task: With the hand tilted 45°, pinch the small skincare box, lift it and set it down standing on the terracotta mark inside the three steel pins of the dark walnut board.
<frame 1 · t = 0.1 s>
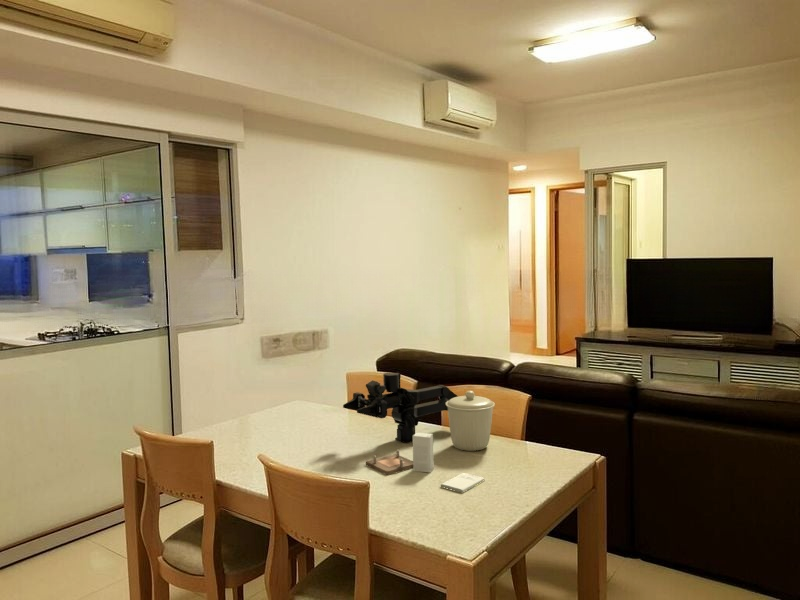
hand: (350, 408, 219), 17 cm above the table, tool horizontal, fingers open, 9 cm apart
skincare box: (423, 470, 203), on the table
pin nest board: (391, 465, 208), on the table
canister: (470, 447, 226), on the table
external hard drive: (462, 486, 190), on the table
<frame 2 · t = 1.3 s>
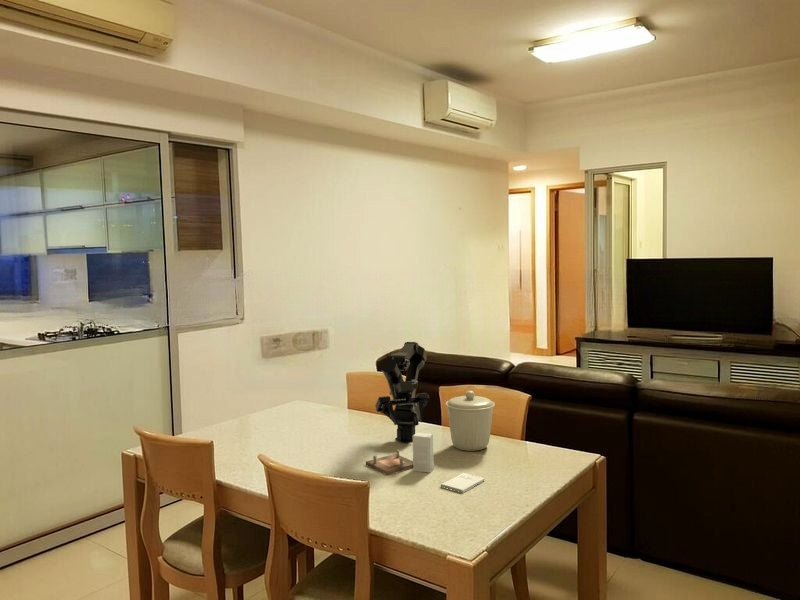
hand: (409, 422, 209), 14 cm above the table, tool tilted 45°, fingers open, 9 cm apart
nothing on the table moved.
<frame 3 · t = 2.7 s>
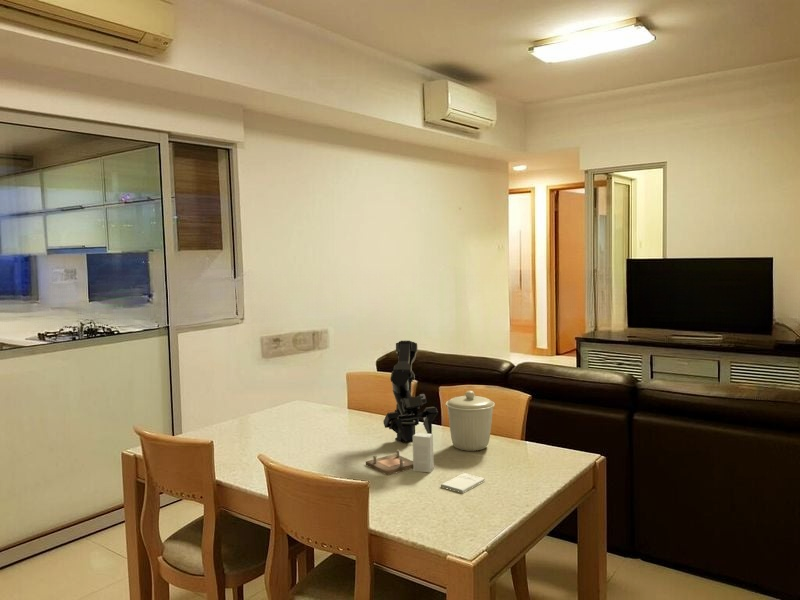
hand: (418, 438, 205), 10 cm above the table, tool tilted 45°, fingers open, 9 cm apart
nothing on the table moved.
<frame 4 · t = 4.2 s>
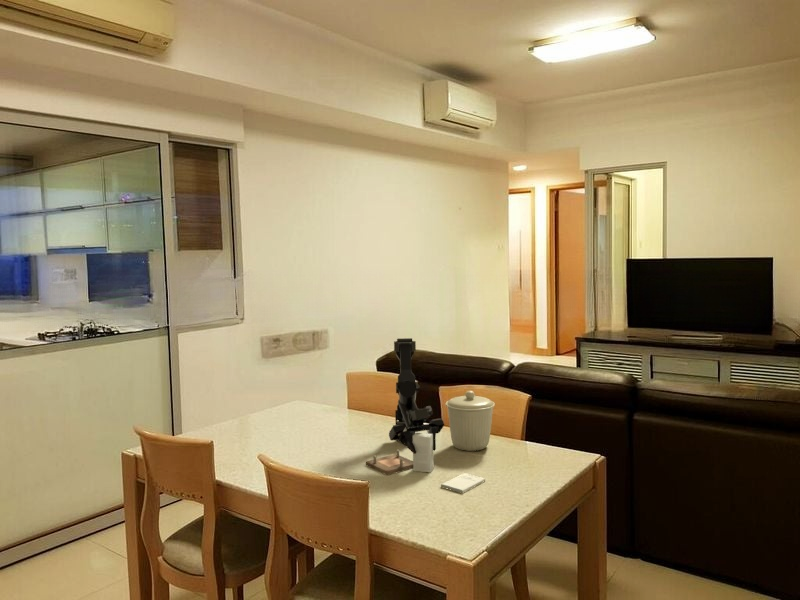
hand: (425, 451, 201), 7 cm above the table, tool tilted 45°, fingers closed on skincare box, 7 cm apart
skincare box: (423, 470, 203), on the table, touching gripper
everything else where it was.
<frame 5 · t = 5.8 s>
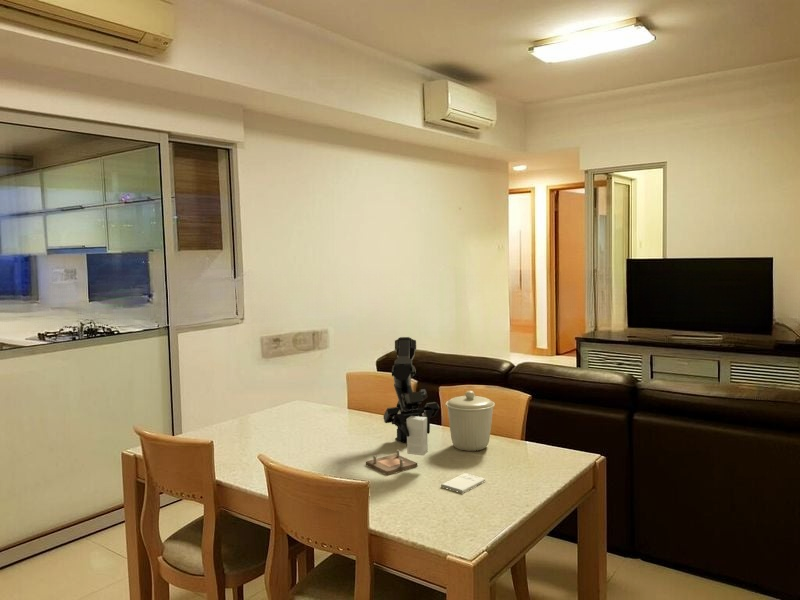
hand: (418, 434, 201), 12 cm above the table, tool tilted 45°, fingers closed on skincare box, 7 cm apart
skincare box: (417, 453, 203), point 5 cm above the table, touching gripper
everything else where it was.
when the fingers open (9 cm above the table, at t = 7.8 s): skincare box stays where it is, resting on pin nest board.
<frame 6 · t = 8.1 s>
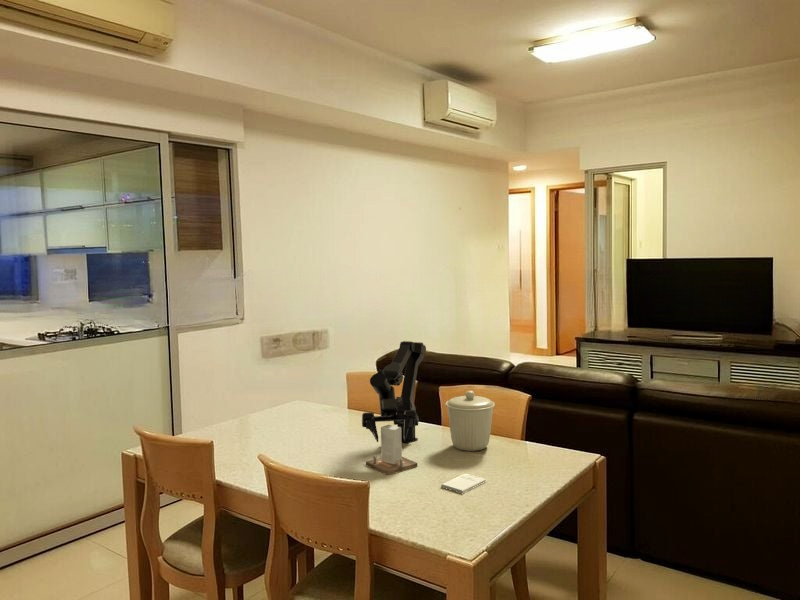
hand: (391, 440, 205), 9 cm above the table, tool tilted 45°, fingers open, 9 cm apart
skincare box: (391, 462, 208), point 1 cm above the table, touching pin nest board
everything else where it was.
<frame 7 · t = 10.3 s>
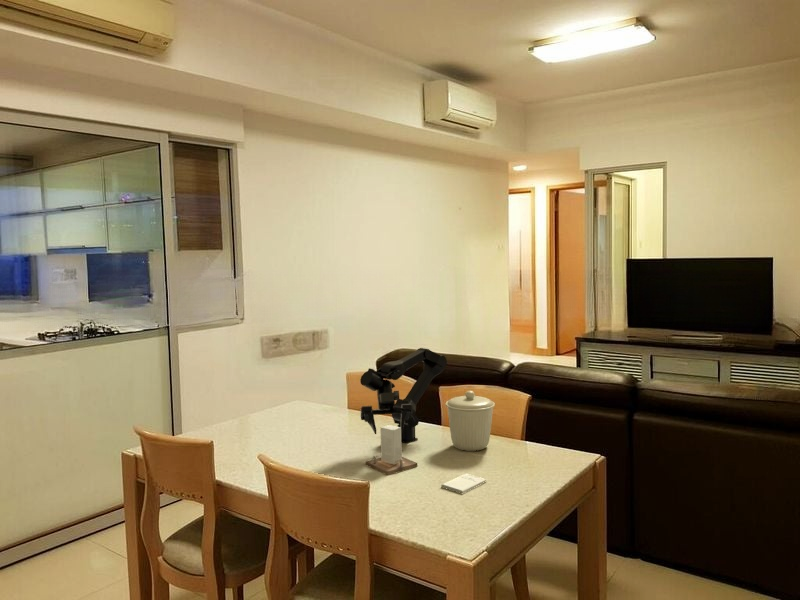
hand: (388, 432, 215), 9 cm above the table, tool tilted 45°, fingers open, 9 cm apart
nothing on the table moved.
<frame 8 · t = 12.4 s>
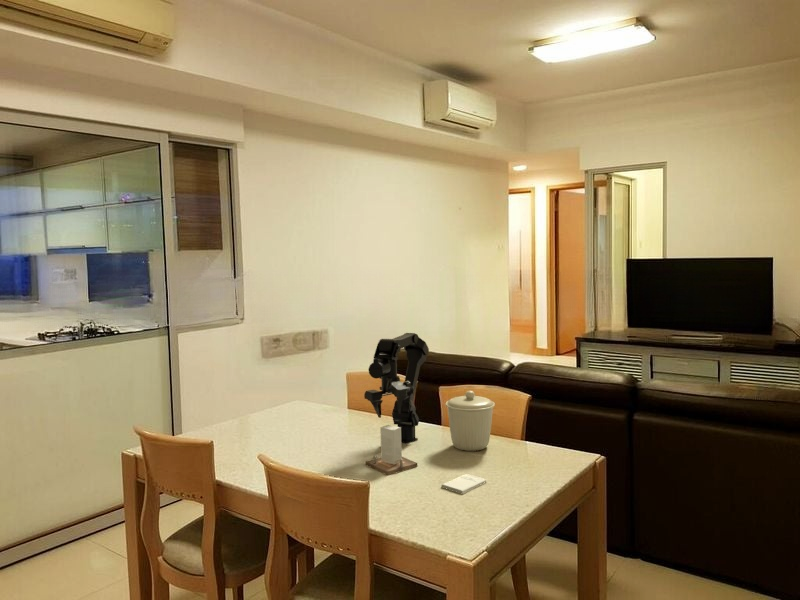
hand: (390, 415, 223), 13 cm above the table, tool pointing down, fingers open, 9 cm apart
nothing on the table moved.
at the end: skincare box 0.2 cm from the pin nest board (horizontally); skincare box tilted 0°; skincare box touching pin nest board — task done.
